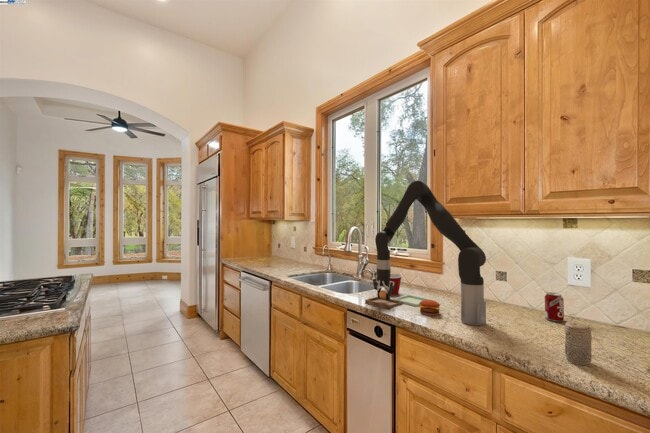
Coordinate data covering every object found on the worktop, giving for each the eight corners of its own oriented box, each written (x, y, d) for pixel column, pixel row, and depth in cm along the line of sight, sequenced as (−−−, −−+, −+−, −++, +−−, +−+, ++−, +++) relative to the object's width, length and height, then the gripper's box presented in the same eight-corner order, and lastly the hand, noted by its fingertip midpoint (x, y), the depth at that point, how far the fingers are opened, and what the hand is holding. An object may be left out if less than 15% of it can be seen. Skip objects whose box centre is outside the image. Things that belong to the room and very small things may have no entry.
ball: (390, 299, 159) (390, 290, 159) (384, 301, 155) (384, 291, 155) (383, 297, 162) (382, 288, 162) (377, 299, 159) (377, 289, 159)
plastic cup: (380, 293, 183) (380, 274, 183) (394, 291, 188) (394, 273, 188) (391, 297, 173) (391, 277, 174) (405, 295, 178) (405, 275, 178)
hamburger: (419, 310, 148) (419, 297, 148) (440, 312, 145) (440, 298, 145) (418, 315, 139) (418, 301, 140) (440, 318, 136) (440, 303, 136)
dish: (431, 302, 161) (431, 299, 161) (416, 307, 152) (416, 304, 152) (408, 297, 173) (408, 294, 173) (392, 301, 163) (392, 298, 163)
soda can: (544, 320, 132) (543, 293, 132) (545, 316, 137) (545, 291, 137) (563, 323, 127) (562, 296, 128) (564, 320, 132) (563, 293, 133)
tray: (402, 305, 156) (402, 301, 156) (388, 309, 149) (388, 306, 149) (379, 299, 169) (379, 296, 169) (365, 303, 161) (365, 299, 161)
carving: (561, 361, 93) (560, 323, 93) (570, 355, 97) (569, 319, 97) (586, 369, 88) (585, 329, 88) (595, 363, 92) (594, 324, 92)
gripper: (398, 268, 156) (398, 300, 156) (377, 265, 167) (377, 295, 167) (389, 270, 151) (390, 303, 151) (369, 267, 162) (369, 297, 162)
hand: (383, 298), depth 159 cm, fingers closed on ball, 5 cm apart
